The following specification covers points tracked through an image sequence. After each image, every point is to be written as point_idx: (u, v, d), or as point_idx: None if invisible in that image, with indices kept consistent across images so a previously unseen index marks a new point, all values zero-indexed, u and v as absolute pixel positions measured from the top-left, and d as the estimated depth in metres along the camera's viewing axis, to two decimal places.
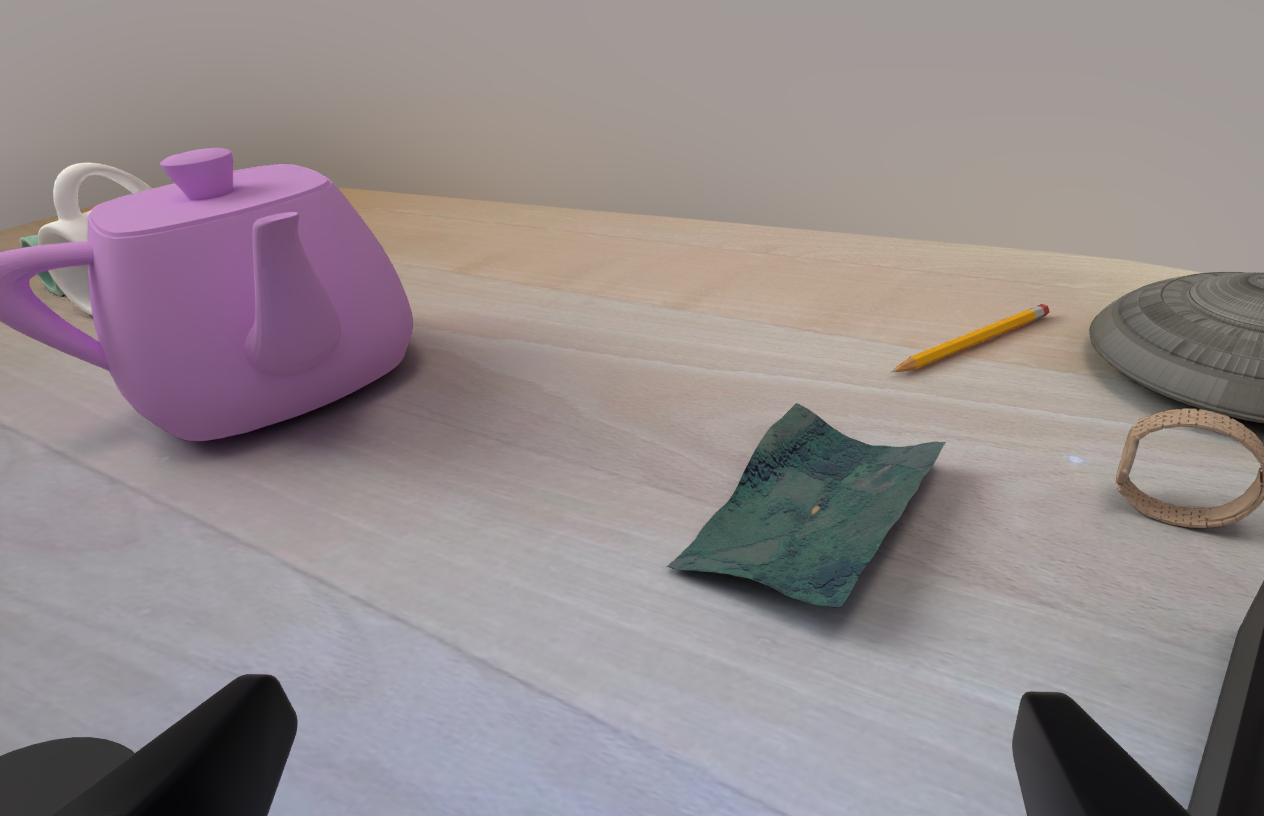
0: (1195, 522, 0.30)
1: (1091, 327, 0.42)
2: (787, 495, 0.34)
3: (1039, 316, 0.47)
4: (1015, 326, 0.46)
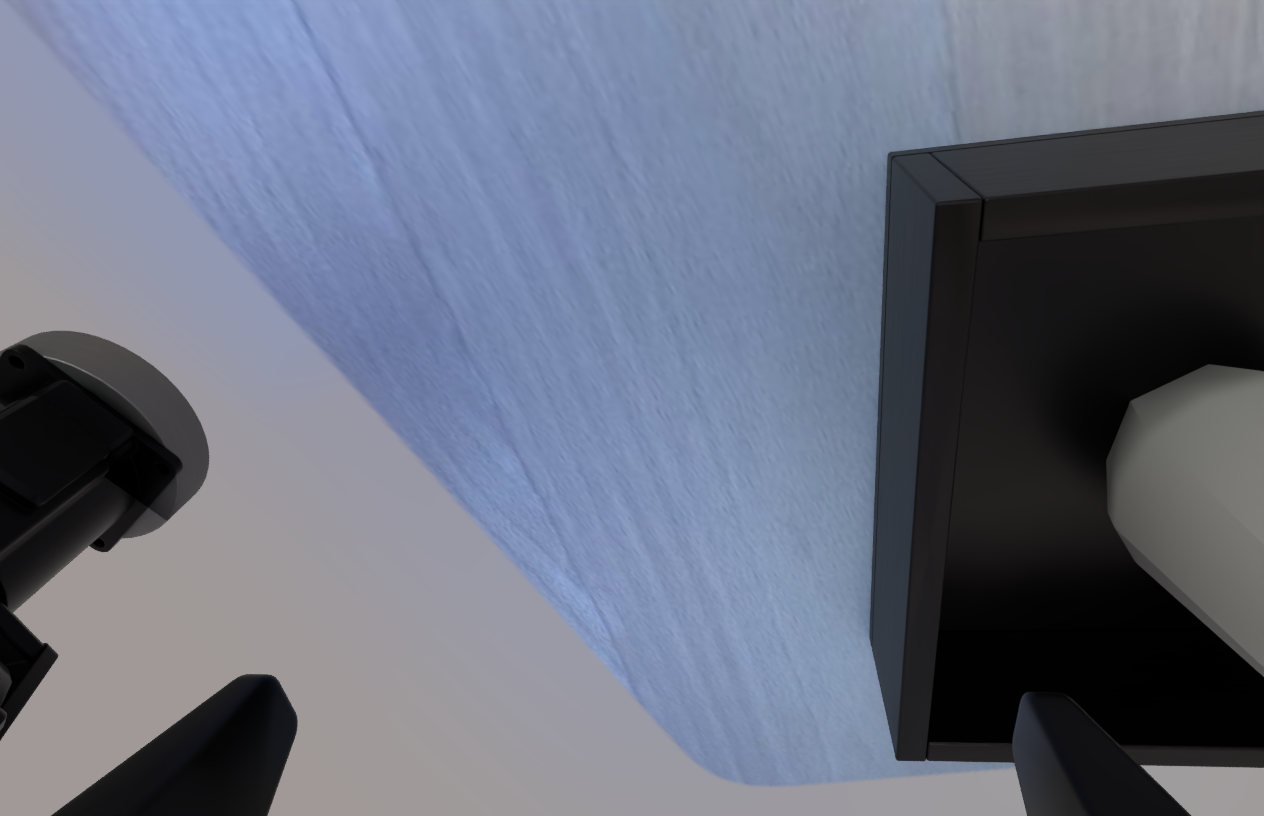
0: None
1: None
2: None
3: None
4: None
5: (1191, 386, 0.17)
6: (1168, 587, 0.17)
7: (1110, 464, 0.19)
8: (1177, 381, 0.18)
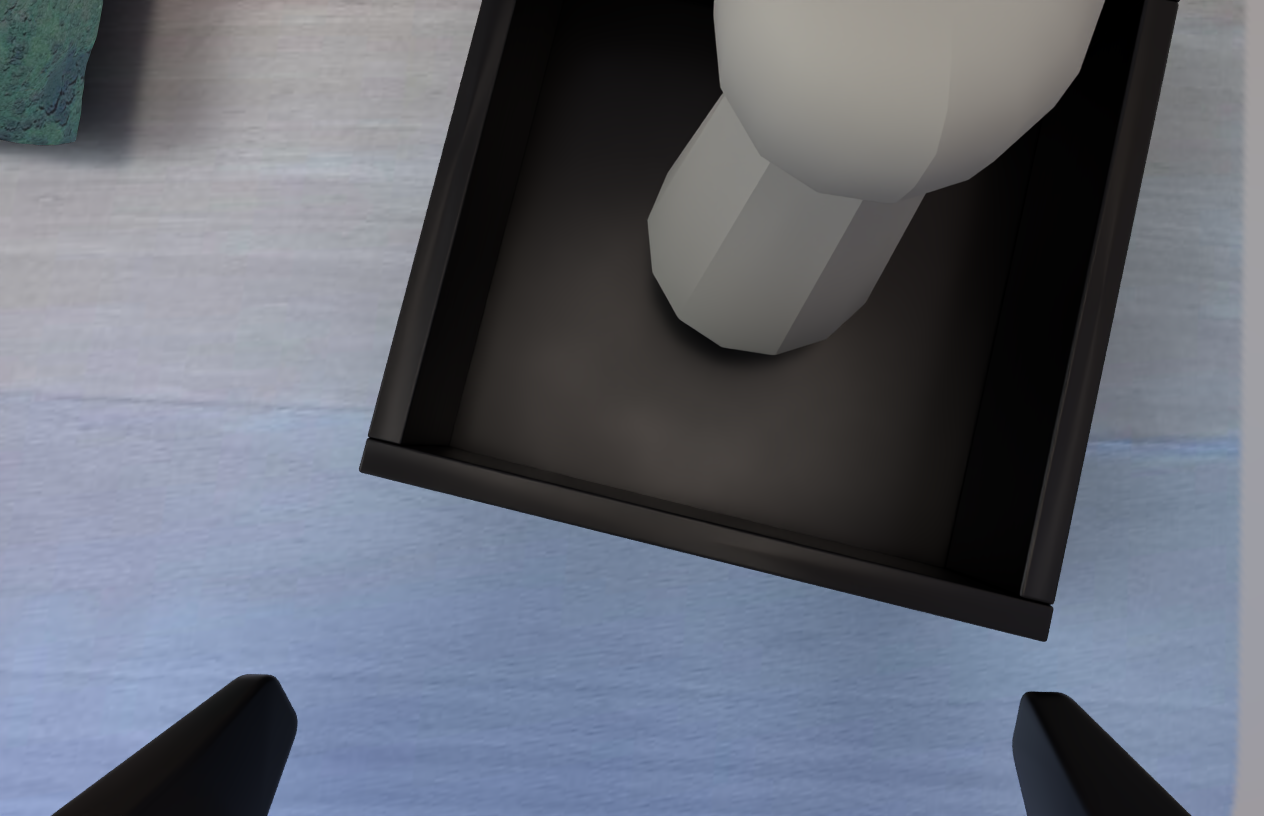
0: None
1: None
2: None
3: None
4: None
5: None
6: (822, 324, 0.16)
7: None
8: None
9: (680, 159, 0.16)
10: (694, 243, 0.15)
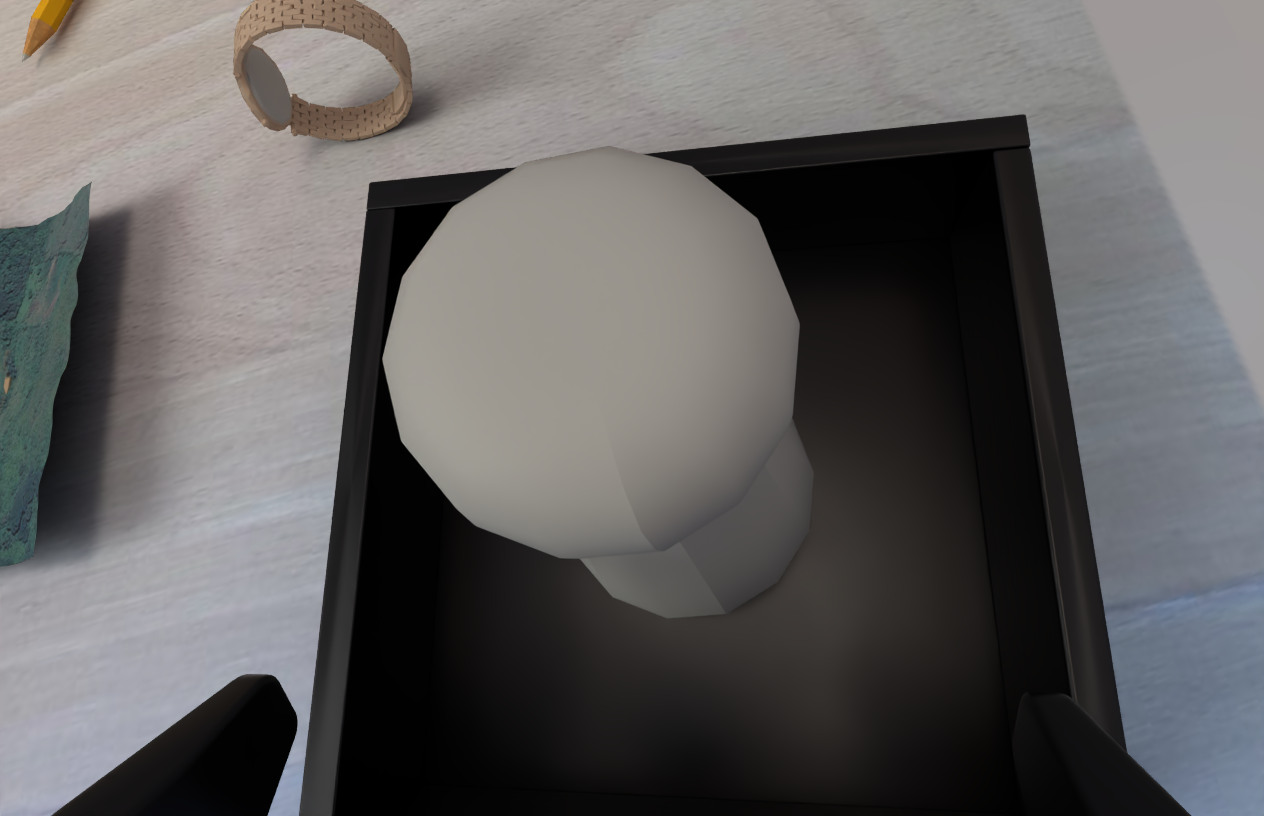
0: (387, 121, 0.24)
1: None
2: None
3: None
4: None
5: None
6: (757, 578, 0.15)
7: None
8: None
9: None
10: None
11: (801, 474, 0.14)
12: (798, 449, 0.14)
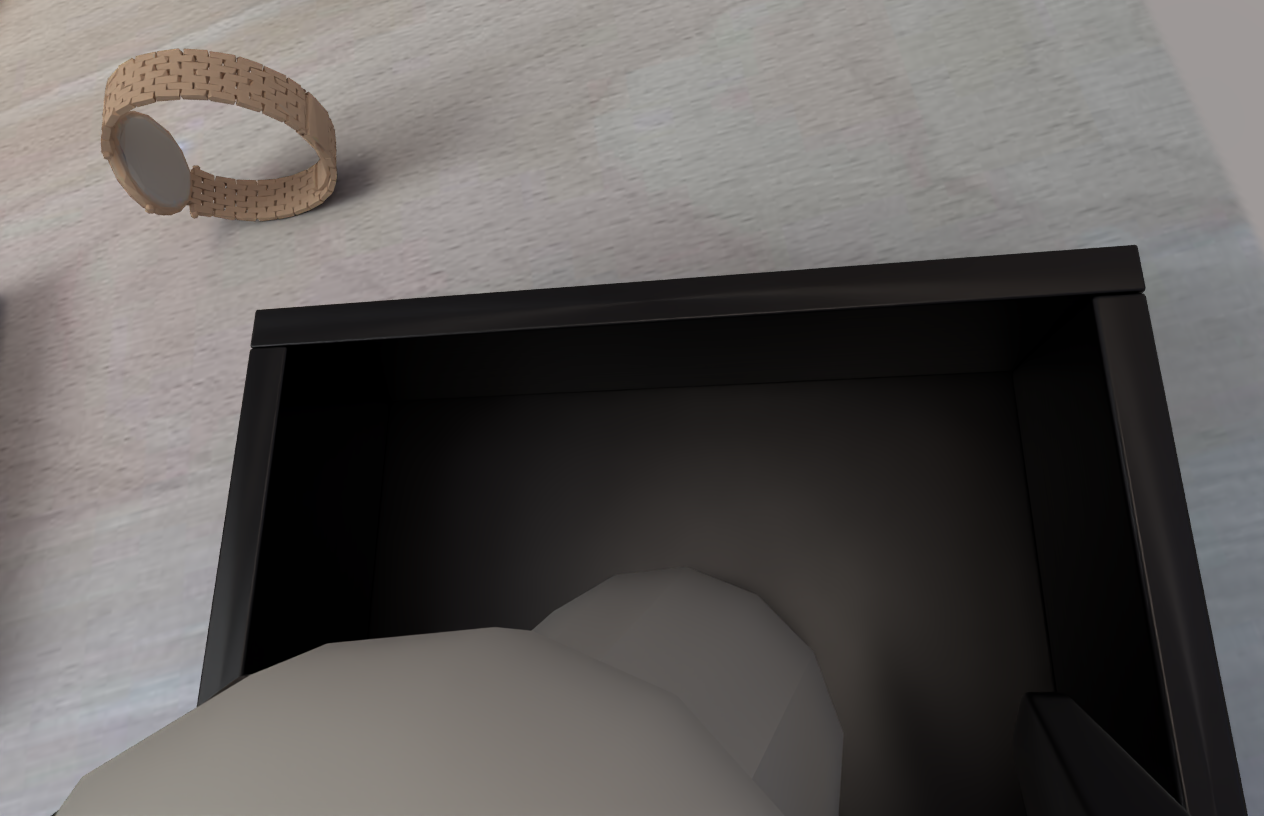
0: (311, 198, 0.20)
1: None
2: None
3: None
4: None
5: None
6: None
7: None
8: None
9: None
10: None
11: (831, 782, 0.10)
12: (826, 744, 0.10)
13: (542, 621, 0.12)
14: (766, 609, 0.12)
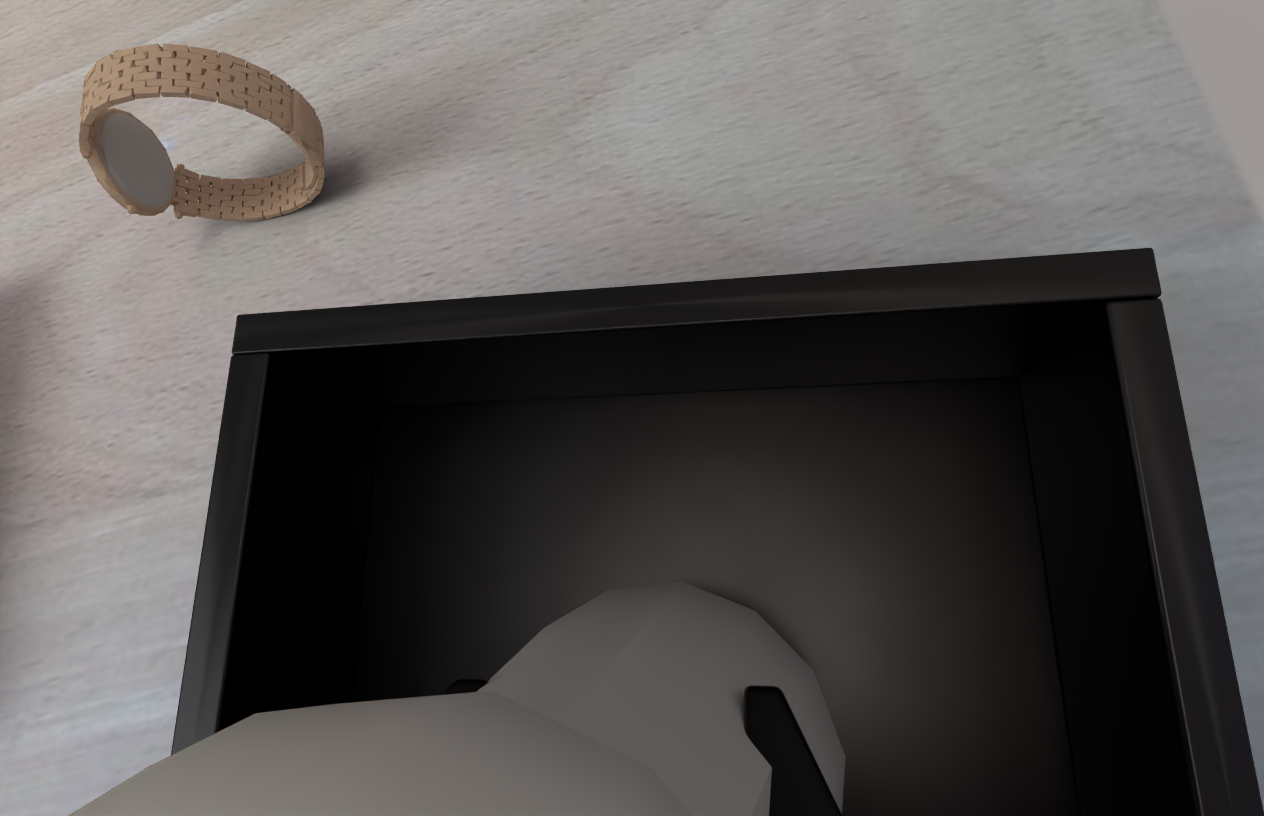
0: (298, 198, 0.19)
1: None
2: None
3: None
4: None
5: None
6: None
7: None
8: None
9: None
10: None
11: None
12: (826, 771, 0.10)
13: None
14: (764, 626, 0.12)
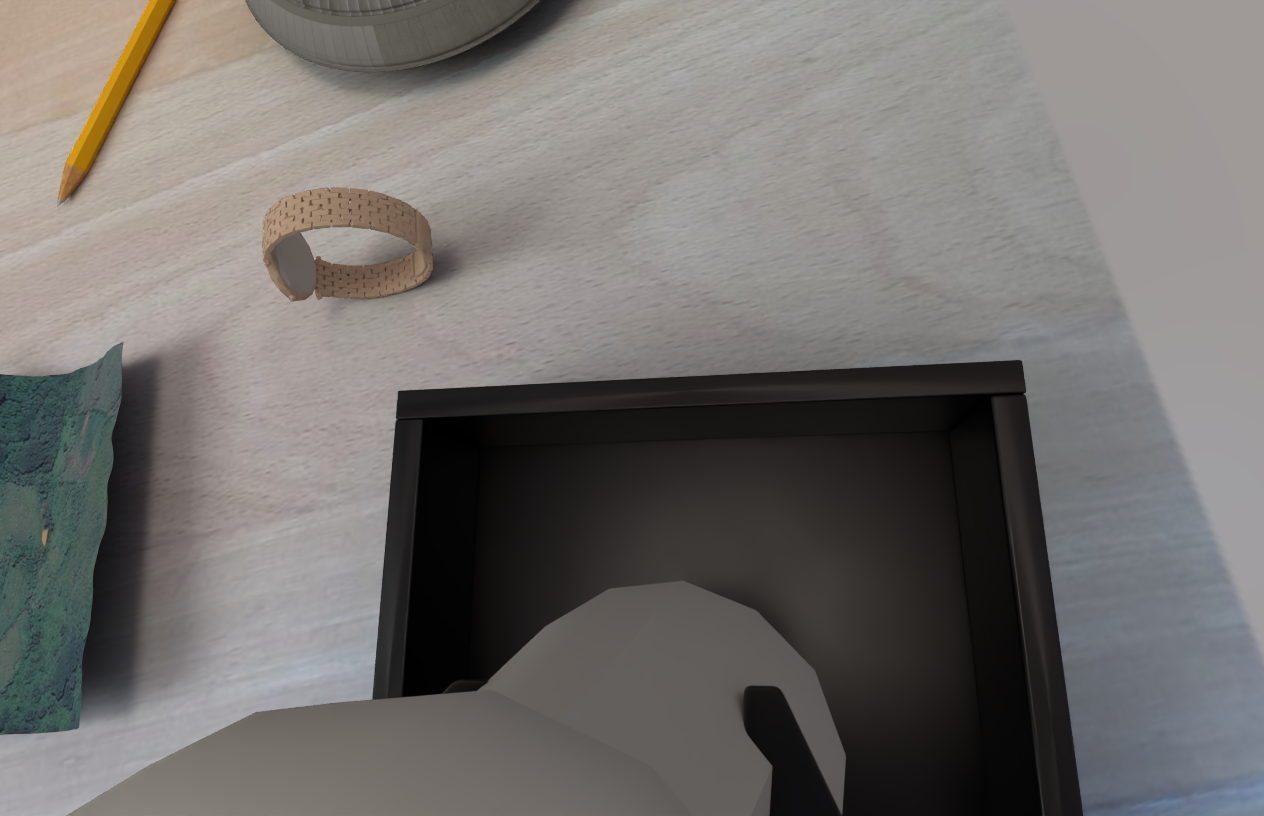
0: (408, 282, 0.25)
1: None
2: (8, 533, 0.25)
3: None
4: None
5: None
6: None
7: None
8: None
9: None
10: None
11: None
12: (827, 771, 0.10)
13: None
14: (765, 625, 0.12)
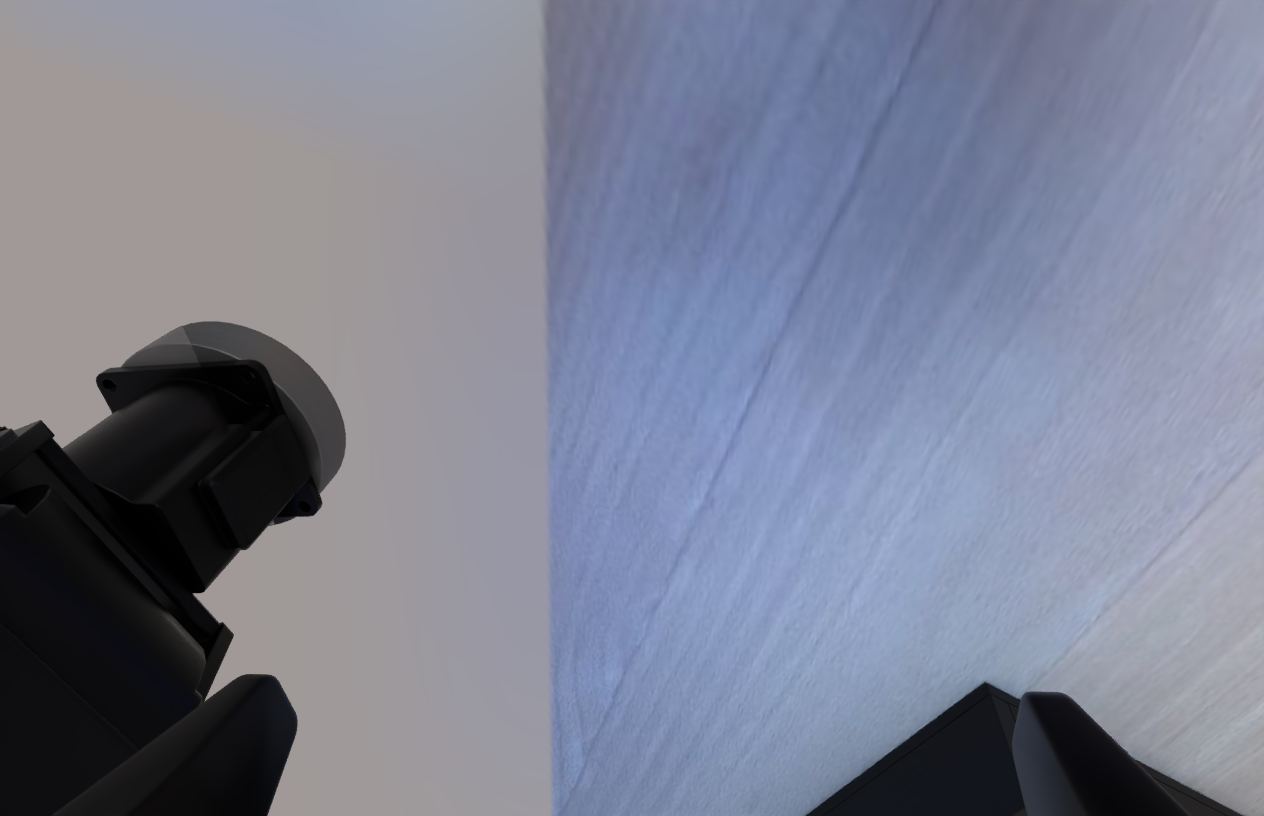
0: None
1: None
2: None
3: None
4: None
5: None
6: None
7: None
8: None
9: None
10: None
11: None
12: None
13: None
14: None
